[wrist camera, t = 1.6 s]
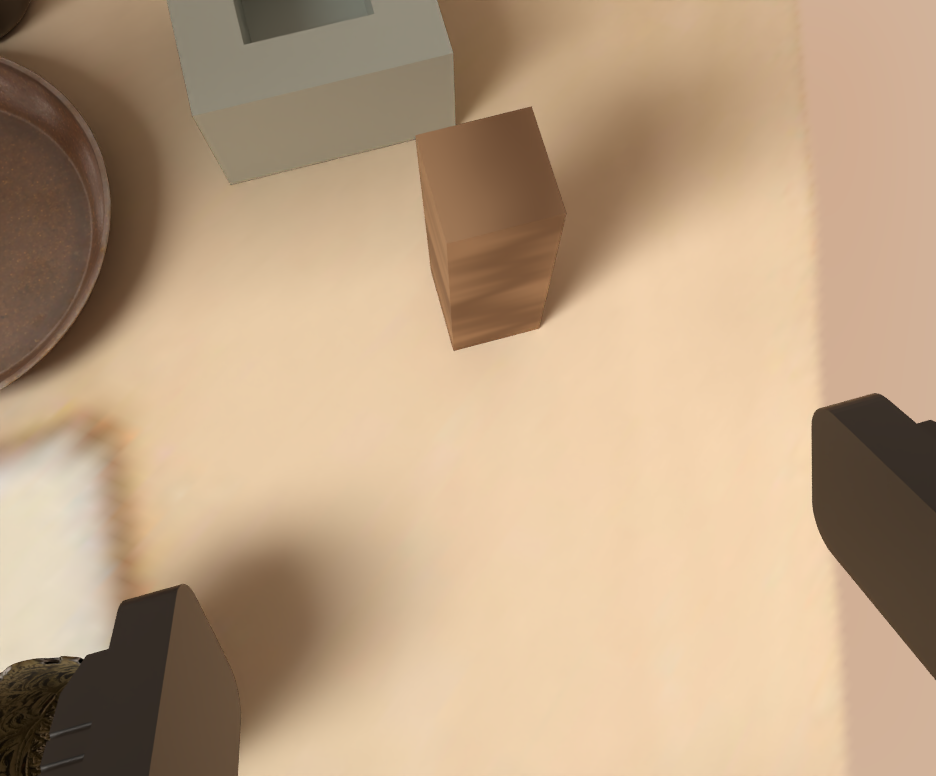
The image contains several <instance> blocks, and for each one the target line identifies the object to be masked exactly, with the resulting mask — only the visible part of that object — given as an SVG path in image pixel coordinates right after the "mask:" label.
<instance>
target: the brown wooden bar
mask: <svg viewBox="0 0 936 776" xmlns="http://www.w3.org/2000/svg"><path fill="white" fill-rule="evenodd" d="M415 137H416V146H417V154H418V163H419V172H420V180H421V189H422V197H423V206H424V214H425V223H426V232H427V240H428V249H429V257H430V266H431V272H432V276H433V279H434V283H435V286H436V290H437V293H438V297H439V301H440V304H441V308H442V311H443V315H444V318H445V322H446V326H447V329H448V333H449V336H450V340H451V343H452V347H453V350H454V351H455V350H459V349H463V348H467V347H470V346H474V345H478V344H482V343H486V342H489V341H493V340H497V339H501V338H505V337H508V336H512V335H516V334H520V333H524V332H527V331H531V330H535V329H539V327H540V322H541V318H542V314H543V310H544V306H545V301H546V297H547V293H548V289H549V284H550V280H551V276H552V272H553V268H554V263H555V259H556V255H557V251H558V246H559V242H560V238H561V234H562V230H563V225H564V221H565V217H566V211H565V208H564V205H563V202H562V198H561V195H560V192H559V189H558V186H557V183H556V180H555V177H554V174H553V171H552V168H551V165H550V162H549V159H548V155H547V152H546V149H545V146H544V143H543V140H542V137H541V134H540V131H539V128H538V125H537V122H536V119H535V116H534V112H533V109H532V107H528V108H524V109H520V110H516V111H512V112H507V113H503V114H499V115H495V116H491V117H487V118H483V119H479V120H475V121H471V122H467V123H463V124H459V125H455V126H451V127H447V128H443V129H439V130H435V131H430V132H426V133H422V134H418V135H415Z"/></svg>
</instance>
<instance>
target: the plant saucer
mask: <svg viewBox="0 0 936 776" xmlns="http://www.w3.org/2000/svg"><path fill="white" fill-rule="evenodd" d="M110 219H111V199H110V189H109V182H108V176H107V172H106V167H105V164H104V160H103V157H102V154H101V151H100V149H99V146H98V144H97V142H96V140H95V138H94V136H93V133H92V131H91V130H90V128H89V126H88V125H87V123H86V122H85V120H84V119H83V117H82V116H81V114H80V113H79V112H78V111H77V109H76V108H75V107H74V106H73V105H72V103H71V102H70V101H69V100H68V99H67V98H66V97H65V96H64V95H63V94H62V93H61V92H60V91H58V90H57V89H56V88H55V87H54V86H52V85H51V84H50V83H49V82H47V81H46V80H44V79H43V78H42V77H40V76H39V75H37V74H36V73H34V72H32V71H30V70H29V69H27V68H25V67H23V66H21V65H19V64H17V63H15V62H13V61H10V60H8V59H5V58H2V57H0V390H1V389H3V388H4V387H6V386H8V385H9V384H11V383H12V382H14V381H15V380H16V379H18V378H19V377H21V376H22V375H23V374H25V373H26V372H27V371H29V370H30V369H31V368H32V367H33V366H35V365H36V364H37V363H38V362H39V361H40V360H41V359H42V358H43V357H45V356H46V355H47V354H48V353H49V352H50V351H51V350H52V349H53V347H54V346H55V345H56V344H57V343H58V342H59V341H60V340H61V339H62V337H63V336H64V335H65V334H66V332H67V331H68V330H69V329H70V327H71V326H72V325H73V323H74V322H75V321H76V319H77V317H78V316H79V314H80V313H81V311H82V309H83V308H84V306H85V304H86V302H87V300H88V299H89V297H90V294H91V292H92V290H93V288H94V285H95V283H96V281H97V278H98V275H99V273H100V270H101V267H102V264H103V260H104V256H105V252H106V248H107V244H108V238H109V231H110Z"/></svg>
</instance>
